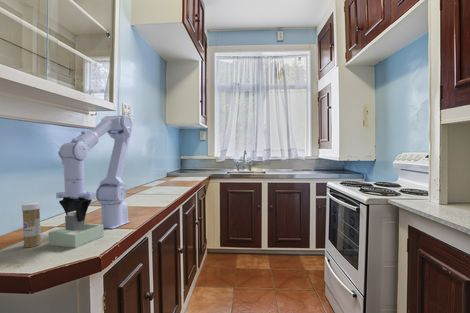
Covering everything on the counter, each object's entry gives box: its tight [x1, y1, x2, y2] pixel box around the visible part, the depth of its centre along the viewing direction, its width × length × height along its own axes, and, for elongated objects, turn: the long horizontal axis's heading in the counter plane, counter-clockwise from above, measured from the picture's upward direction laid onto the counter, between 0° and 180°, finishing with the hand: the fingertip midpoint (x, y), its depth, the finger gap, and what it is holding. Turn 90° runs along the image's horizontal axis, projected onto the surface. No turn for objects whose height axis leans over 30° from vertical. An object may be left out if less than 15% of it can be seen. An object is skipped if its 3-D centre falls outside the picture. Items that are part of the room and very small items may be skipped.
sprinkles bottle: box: [21, 201, 42, 248], centre depth 85 cm, size 5×5×14 cm
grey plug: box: [64, 211, 85, 231], centre depth 87 cm, size 4×4×6 cm
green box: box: [48, 222, 105, 249], centre depth 88 cm, size 11×11×4 cm
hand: (76, 220), depth 88 cm, fingers closed on grey plug, 3 cm apart
